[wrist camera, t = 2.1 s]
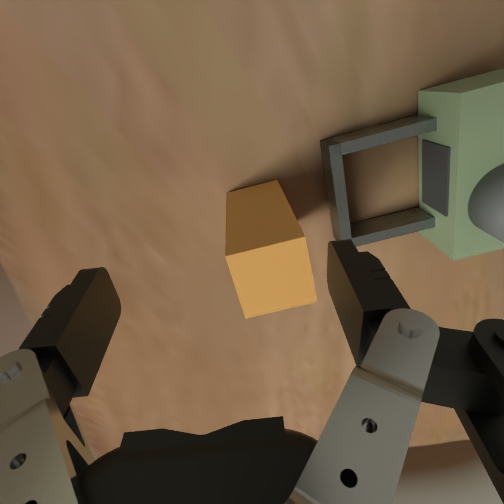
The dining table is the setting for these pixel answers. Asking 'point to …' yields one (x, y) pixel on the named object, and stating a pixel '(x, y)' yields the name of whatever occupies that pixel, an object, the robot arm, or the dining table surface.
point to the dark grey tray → (337, 190)
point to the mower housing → (464, 164)
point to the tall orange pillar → (266, 251)
